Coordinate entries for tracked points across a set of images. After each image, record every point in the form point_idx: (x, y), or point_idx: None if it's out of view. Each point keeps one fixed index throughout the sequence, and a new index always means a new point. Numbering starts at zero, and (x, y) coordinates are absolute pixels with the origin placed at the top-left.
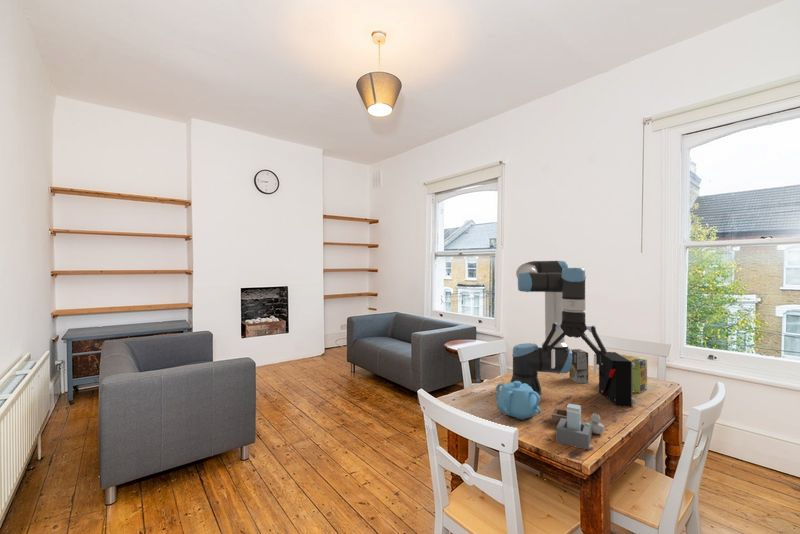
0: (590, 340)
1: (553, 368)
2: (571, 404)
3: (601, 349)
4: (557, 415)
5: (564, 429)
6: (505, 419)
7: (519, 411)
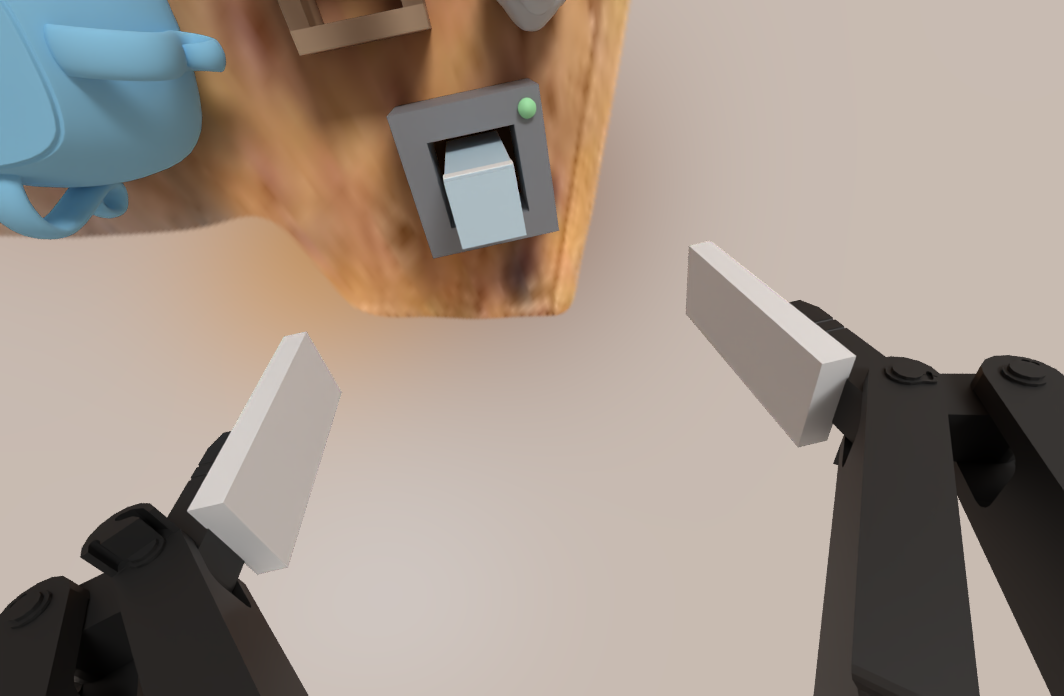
0: (965, 607)
1: (339, 391)
2: (464, 189)
3: (978, 498)
4: (333, 47)
5: (465, 249)
6: (127, 181)
7: (162, 169)
